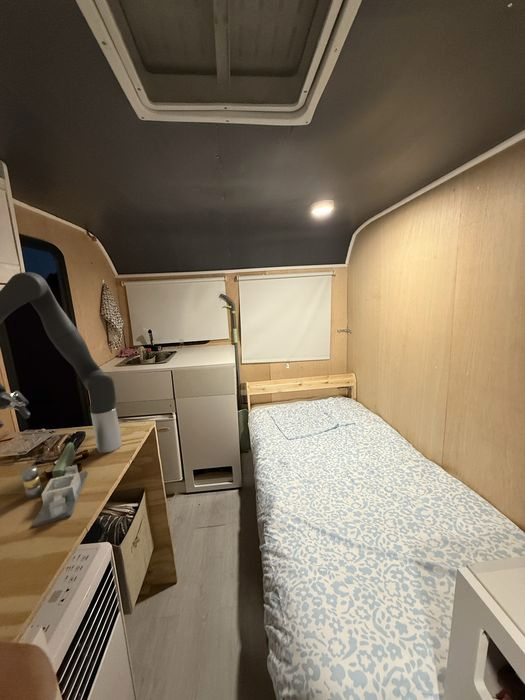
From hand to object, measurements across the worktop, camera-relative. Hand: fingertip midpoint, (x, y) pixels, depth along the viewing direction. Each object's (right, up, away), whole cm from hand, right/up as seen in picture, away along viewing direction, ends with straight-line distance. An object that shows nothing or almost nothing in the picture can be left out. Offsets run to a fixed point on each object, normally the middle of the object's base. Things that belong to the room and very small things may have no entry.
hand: (15, 421), depth 92 cm
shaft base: (+17, -24, -2) cm, 29 cm away
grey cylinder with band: (+6, -24, 0) cm, 25 cm away
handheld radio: (+7, -22, +15) cm, 27 cm away
